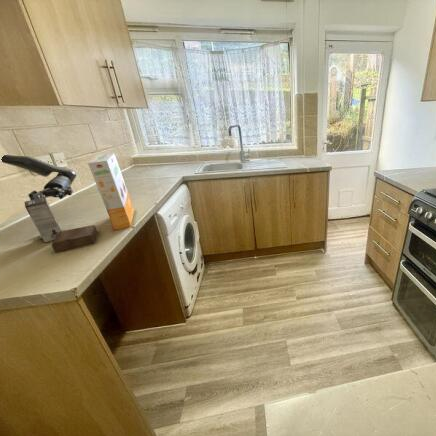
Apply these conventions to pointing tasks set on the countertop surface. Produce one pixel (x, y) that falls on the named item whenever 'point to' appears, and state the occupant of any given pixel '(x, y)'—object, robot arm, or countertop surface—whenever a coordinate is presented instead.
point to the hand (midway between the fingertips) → (47, 198)
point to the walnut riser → (75, 238)
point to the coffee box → (43, 218)
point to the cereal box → (112, 189)
